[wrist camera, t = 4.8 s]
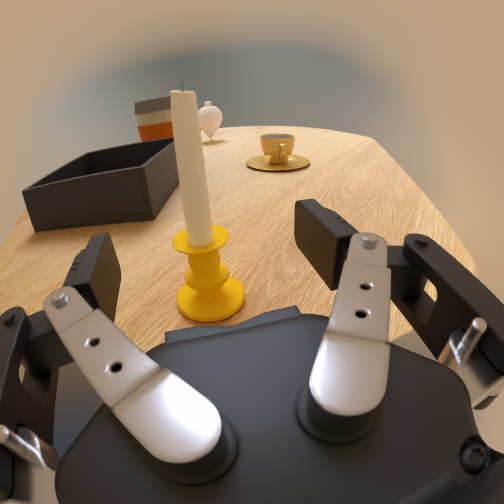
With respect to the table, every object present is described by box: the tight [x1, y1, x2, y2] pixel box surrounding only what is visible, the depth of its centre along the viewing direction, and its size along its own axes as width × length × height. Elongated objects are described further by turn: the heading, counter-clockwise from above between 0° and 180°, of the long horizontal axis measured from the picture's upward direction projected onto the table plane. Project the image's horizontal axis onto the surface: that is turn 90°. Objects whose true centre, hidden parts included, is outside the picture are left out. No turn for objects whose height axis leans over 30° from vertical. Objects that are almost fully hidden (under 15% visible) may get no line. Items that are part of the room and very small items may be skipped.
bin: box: [22, 137, 180, 232], centre depth 43 cm, size 22×22×7 cm
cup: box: [247, 134, 310, 170], centre depth 53 cm, size 12×12×5 cm
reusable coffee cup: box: [135, 96, 174, 142], centre depth 61 cm, size 12×13×15 cm
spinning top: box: [198, 101, 222, 141], centre depth 78 cm, size 8×8×12 cm
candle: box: [170, 82, 245, 322], centre depth 18 cm, size 5×5×16 cm
